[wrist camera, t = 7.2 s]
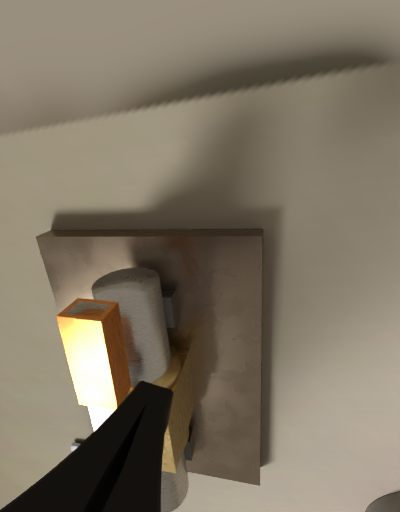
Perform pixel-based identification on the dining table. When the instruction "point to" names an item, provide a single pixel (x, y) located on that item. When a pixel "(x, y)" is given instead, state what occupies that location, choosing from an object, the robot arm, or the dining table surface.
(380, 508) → the coffee mug
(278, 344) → the dining table surface
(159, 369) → the valve manifold
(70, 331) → the valve lever
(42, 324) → the dining table surface
